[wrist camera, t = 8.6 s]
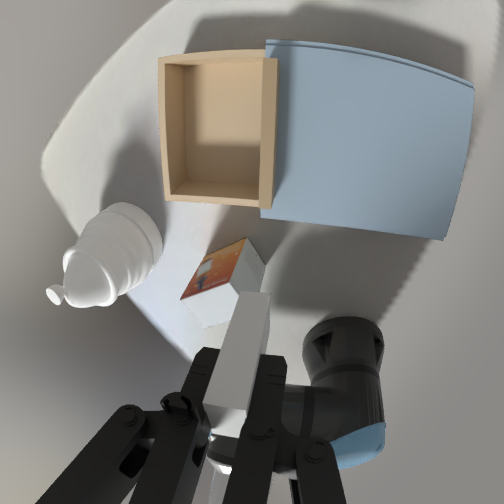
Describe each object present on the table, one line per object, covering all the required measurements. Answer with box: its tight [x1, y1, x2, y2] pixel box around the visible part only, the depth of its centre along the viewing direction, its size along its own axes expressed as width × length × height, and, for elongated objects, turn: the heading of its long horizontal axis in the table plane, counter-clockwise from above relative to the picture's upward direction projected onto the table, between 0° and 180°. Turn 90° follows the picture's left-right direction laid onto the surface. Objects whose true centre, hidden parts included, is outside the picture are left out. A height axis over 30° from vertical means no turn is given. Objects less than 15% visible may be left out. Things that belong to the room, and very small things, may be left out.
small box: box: [180, 238, 266, 329], centre depth 38 cm, size 8×6×10 cm
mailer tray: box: [158, 49, 265, 207], centre depth 29 cm, size 17×22×6 cm
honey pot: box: [46, 202, 163, 308], centre depth 36 cm, size 13×13×18 cm
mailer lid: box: [258, 39, 475, 241], centre depth 24 cm, size 19×22×6 cm
